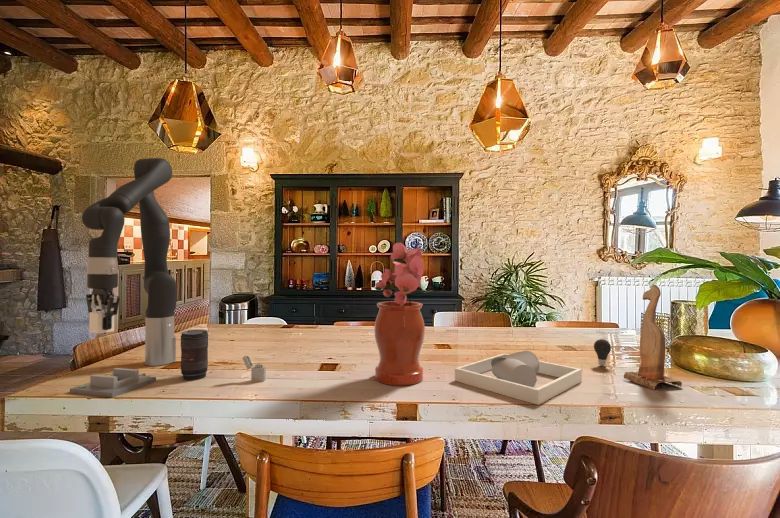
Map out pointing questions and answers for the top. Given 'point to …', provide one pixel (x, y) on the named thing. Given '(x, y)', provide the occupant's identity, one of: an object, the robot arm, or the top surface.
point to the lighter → (255, 370)
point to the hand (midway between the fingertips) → (102, 328)
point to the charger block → (98, 323)
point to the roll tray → (529, 394)
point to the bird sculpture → (651, 347)
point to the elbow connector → (517, 368)
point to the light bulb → (602, 350)
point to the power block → (113, 383)
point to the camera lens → (194, 354)
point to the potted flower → (400, 321)
